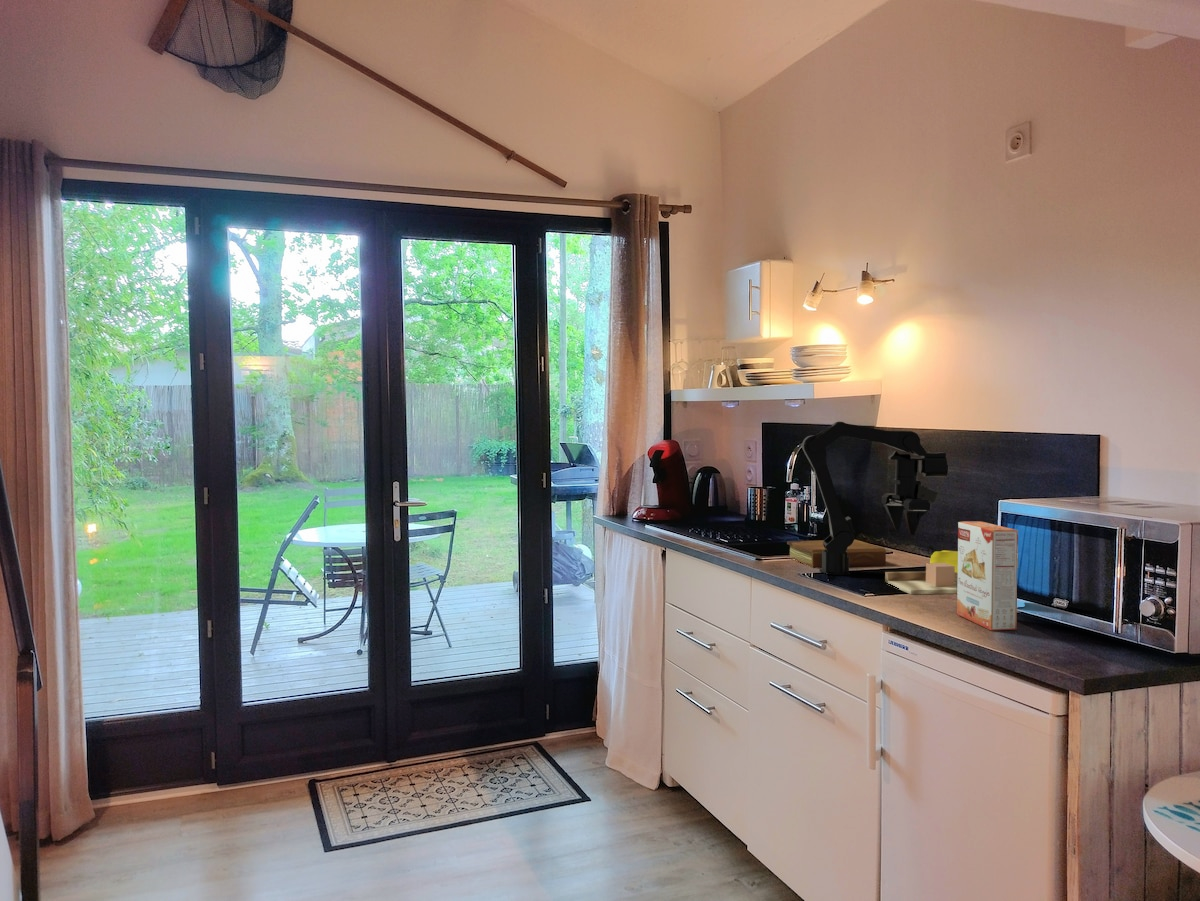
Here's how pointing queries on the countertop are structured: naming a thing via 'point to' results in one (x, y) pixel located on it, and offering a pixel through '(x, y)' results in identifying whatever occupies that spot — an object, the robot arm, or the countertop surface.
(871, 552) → the diary
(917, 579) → the arena
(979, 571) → the cracker box
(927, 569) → the cube
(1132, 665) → the countertop surface
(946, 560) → the faceted yellow capsule
